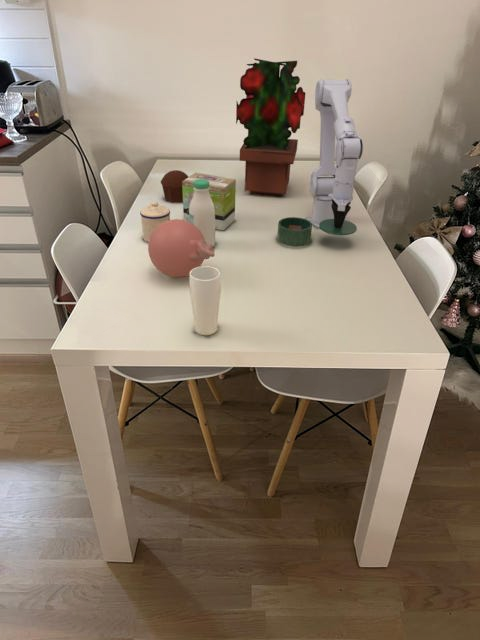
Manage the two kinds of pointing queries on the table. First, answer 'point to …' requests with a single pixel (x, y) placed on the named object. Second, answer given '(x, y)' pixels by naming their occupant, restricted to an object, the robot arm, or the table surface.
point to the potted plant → (269, 125)
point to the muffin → (173, 186)
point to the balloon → (178, 248)
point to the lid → (331, 229)
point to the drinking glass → (205, 298)
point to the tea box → (213, 197)
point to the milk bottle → (203, 210)
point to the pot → (294, 232)
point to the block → (295, 227)
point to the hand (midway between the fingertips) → (338, 225)
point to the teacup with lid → (153, 218)
